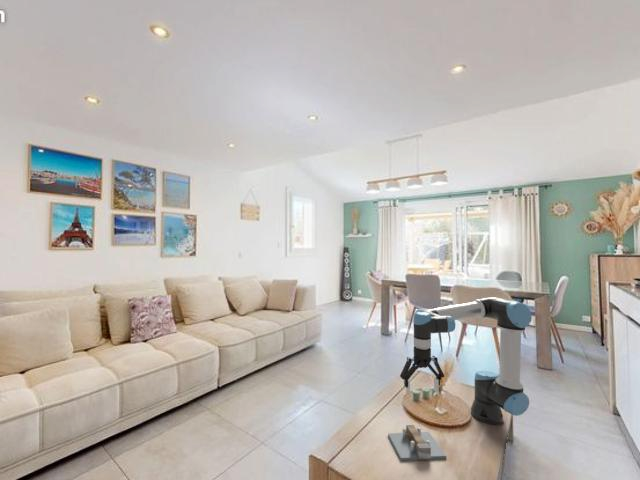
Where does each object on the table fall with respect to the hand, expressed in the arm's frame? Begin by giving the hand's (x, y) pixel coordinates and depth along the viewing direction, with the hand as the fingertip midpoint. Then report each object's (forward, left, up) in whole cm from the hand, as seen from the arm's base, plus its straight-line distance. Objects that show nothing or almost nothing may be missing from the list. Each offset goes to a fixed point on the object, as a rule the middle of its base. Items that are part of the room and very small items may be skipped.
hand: (422, 393), depth 134 cm
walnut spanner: (+4, +3, -21) cm, 22 cm away
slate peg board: (+4, +2, -23) cm, 23 cm away
